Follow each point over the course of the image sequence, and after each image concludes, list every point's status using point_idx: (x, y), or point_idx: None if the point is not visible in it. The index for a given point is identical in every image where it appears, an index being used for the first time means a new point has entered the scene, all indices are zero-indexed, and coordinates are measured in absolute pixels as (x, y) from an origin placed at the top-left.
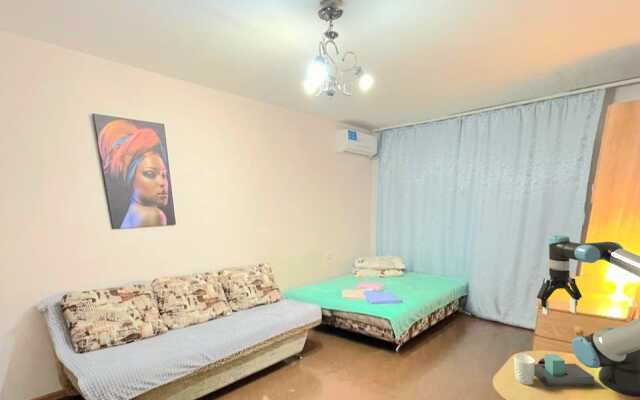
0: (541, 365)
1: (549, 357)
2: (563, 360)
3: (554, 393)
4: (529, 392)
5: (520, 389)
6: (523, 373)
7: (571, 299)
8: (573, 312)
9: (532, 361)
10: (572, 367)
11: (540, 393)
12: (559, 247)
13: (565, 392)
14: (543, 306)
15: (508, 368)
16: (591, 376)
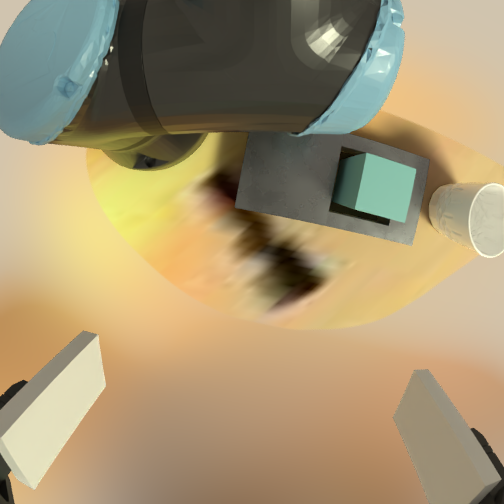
0: (384, 228)
1: (409, 193)
2: (371, 154)
3: (417, 128)
4: (473, 158)
5: (483, 177)
6: (485, 195)
7: (30, 465)
8: (97, 352)
9: (464, 209)
10: (275, 184)
11: (452, 144)
12: None
13: (382, 120)
14: (479, 436)
15: (440, 277)
16: None
